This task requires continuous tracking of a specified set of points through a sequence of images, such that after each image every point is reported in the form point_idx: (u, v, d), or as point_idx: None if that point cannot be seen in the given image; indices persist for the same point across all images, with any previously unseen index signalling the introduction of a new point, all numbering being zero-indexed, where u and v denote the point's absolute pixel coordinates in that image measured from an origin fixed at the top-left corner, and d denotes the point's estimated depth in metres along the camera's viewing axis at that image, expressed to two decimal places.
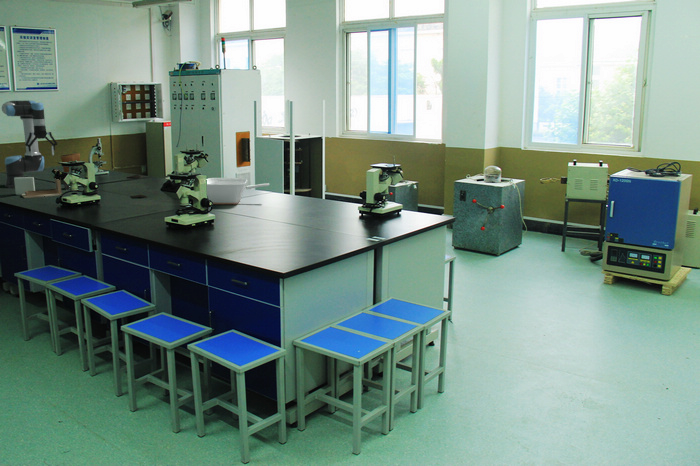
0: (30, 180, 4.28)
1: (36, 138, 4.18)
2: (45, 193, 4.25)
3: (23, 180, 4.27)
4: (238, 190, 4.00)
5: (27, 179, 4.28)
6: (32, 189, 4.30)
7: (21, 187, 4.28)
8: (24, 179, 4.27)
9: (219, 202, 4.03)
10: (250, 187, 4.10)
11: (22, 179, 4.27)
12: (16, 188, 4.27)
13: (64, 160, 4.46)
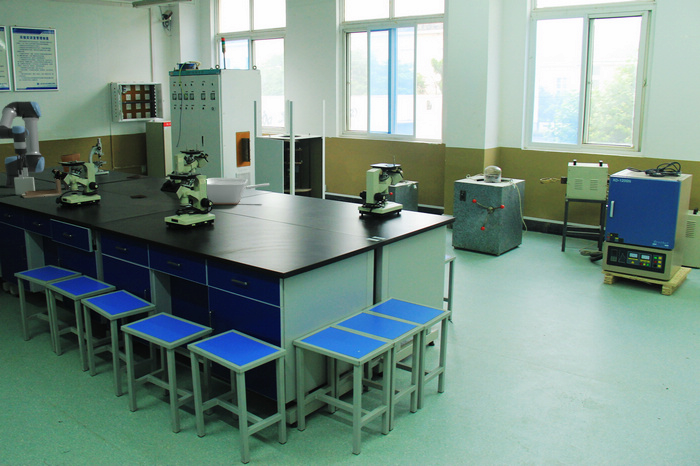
0: (30, 180, 4.28)
1: None
2: (45, 193, 4.25)
3: (23, 180, 4.27)
4: (238, 190, 4.00)
5: (27, 179, 4.28)
6: (32, 189, 4.30)
7: (21, 187, 4.28)
8: (24, 179, 4.27)
9: (219, 202, 4.03)
10: (250, 187, 4.09)
11: (22, 179, 4.27)
12: (16, 188, 4.27)
13: (64, 160, 4.46)
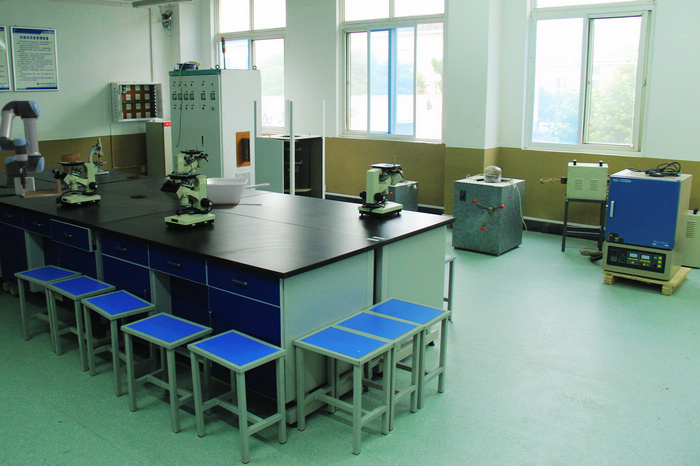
0: (30, 180, 4.28)
1: None
2: (45, 193, 4.25)
3: None
4: (238, 190, 3.99)
5: (27, 179, 4.28)
6: (32, 189, 4.30)
7: (20, 187, 4.28)
8: None
9: (219, 202, 4.03)
10: (250, 187, 4.09)
11: None
12: (16, 188, 4.27)
13: (64, 160, 4.46)
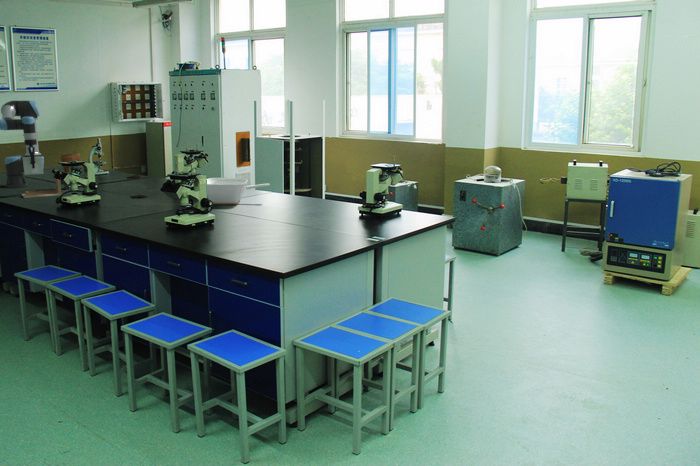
0: (39, 159, 4.23)
1: None
2: (45, 193, 4.25)
3: None
4: (238, 190, 3.99)
5: (36, 158, 4.22)
6: (41, 168, 4.24)
7: (29, 166, 4.21)
8: None
9: (219, 202, 4.03)
10: (250, 187, 4.09)
11: None
12: (25, 168, 4.19)
13: (64, 160, 4.46)
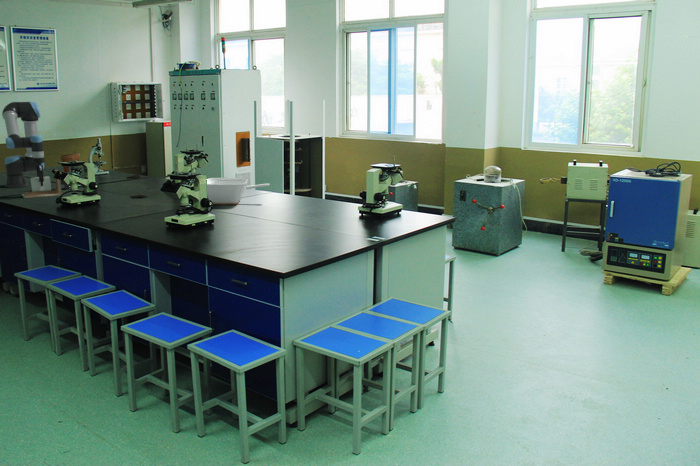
0: (47, 179, 4.25)
1: (36, 170, 4.23)
2: (45, 193, 4.25)
3: None
4: (238, 190, 3.99)
5: (45, 179, 4.24)
6: (49, 188, 4.28)
7: (38, 187, 4.23)
8: None
9: (219, 202, 4.03)
10: (250, 187, 4.09)
11: None
12: (33, 188, 4.21)
13: (64, 160, 4.46)
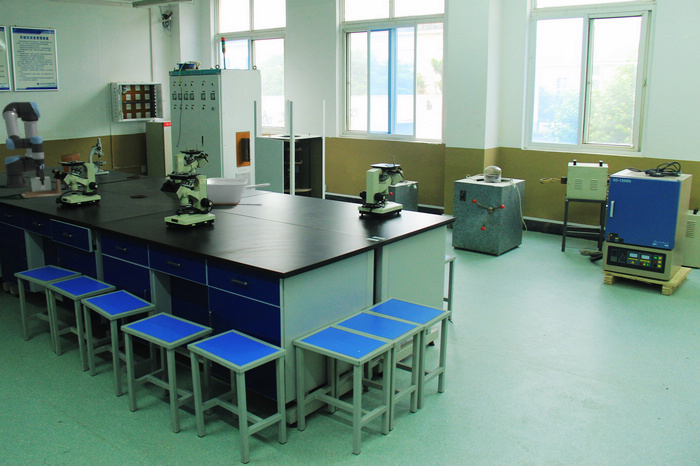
0: (47, 179, 4.26)
1: (36, 170, 4.24)
2: (45, 193, 4.25)
3: None
4: (238, 190, 3.99)
5: (45, 179, 4.25)
6: (49, 188, 4.28)
7: (38, 187, 4.23)
8: None
9: (219, 202, 4.03)
10: (250, 187, 4.09)
11: None
12: (33, 188, 4.21)
13: (64, 160, 4.46)
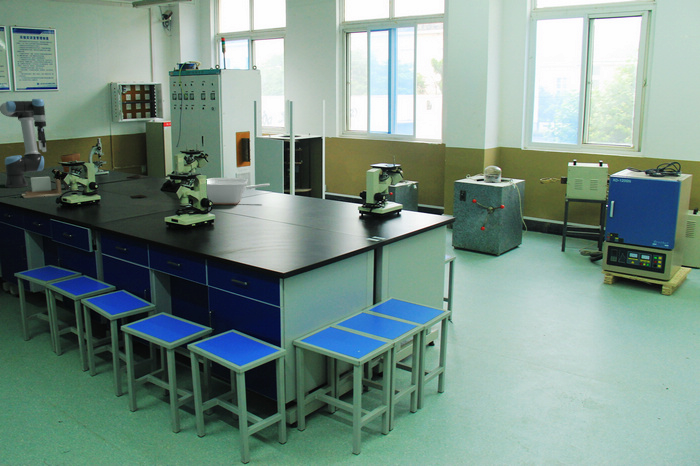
0: (47, 179, 4.26)
1: None
2: (45, 193, 4.25)
3: (40, 179, 4.23)
4: (238, 190, 3.99)
5: (45, 179, 4.25)
6: (49, 188, 4.28)
7: (38, 187, 4.23)
8: (41, 179, 4.23)
9: (219, 202, 4.03)
10: (250, 187, 4.09)
11: (39, 179, 4.23)
12: (33, 188, 4.21)
13: (64, 160, 4.46)
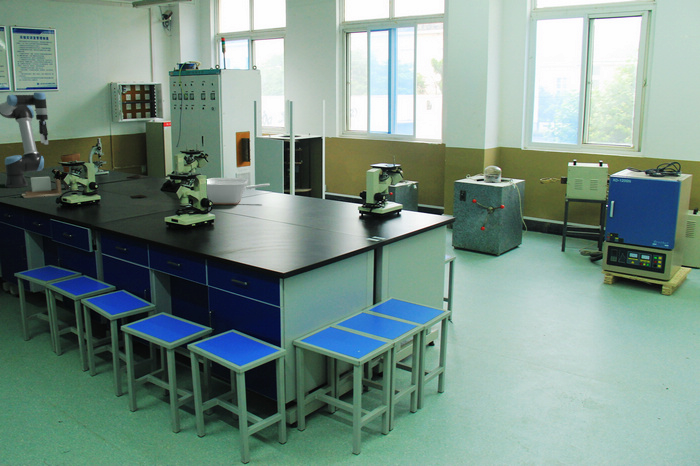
0: (47, 179, 4.26)
1: (39, 126, 4.37)
2: (45, 193, 4.25)
3: (40, 179, 4.23)
4: (238, 190, 3.99)
5: (45, 179, 4.25)
6: (49, 188, 4.28)
7: (38, 187, 4.23)
8: (41, 179, 4.23)
9: (219, 202, 4.03)
10: (250, 187, 4.09)
11: (39, 179, 4.23)
12: (33, 188, 4.21)
13: (64, 160, 4.46)
